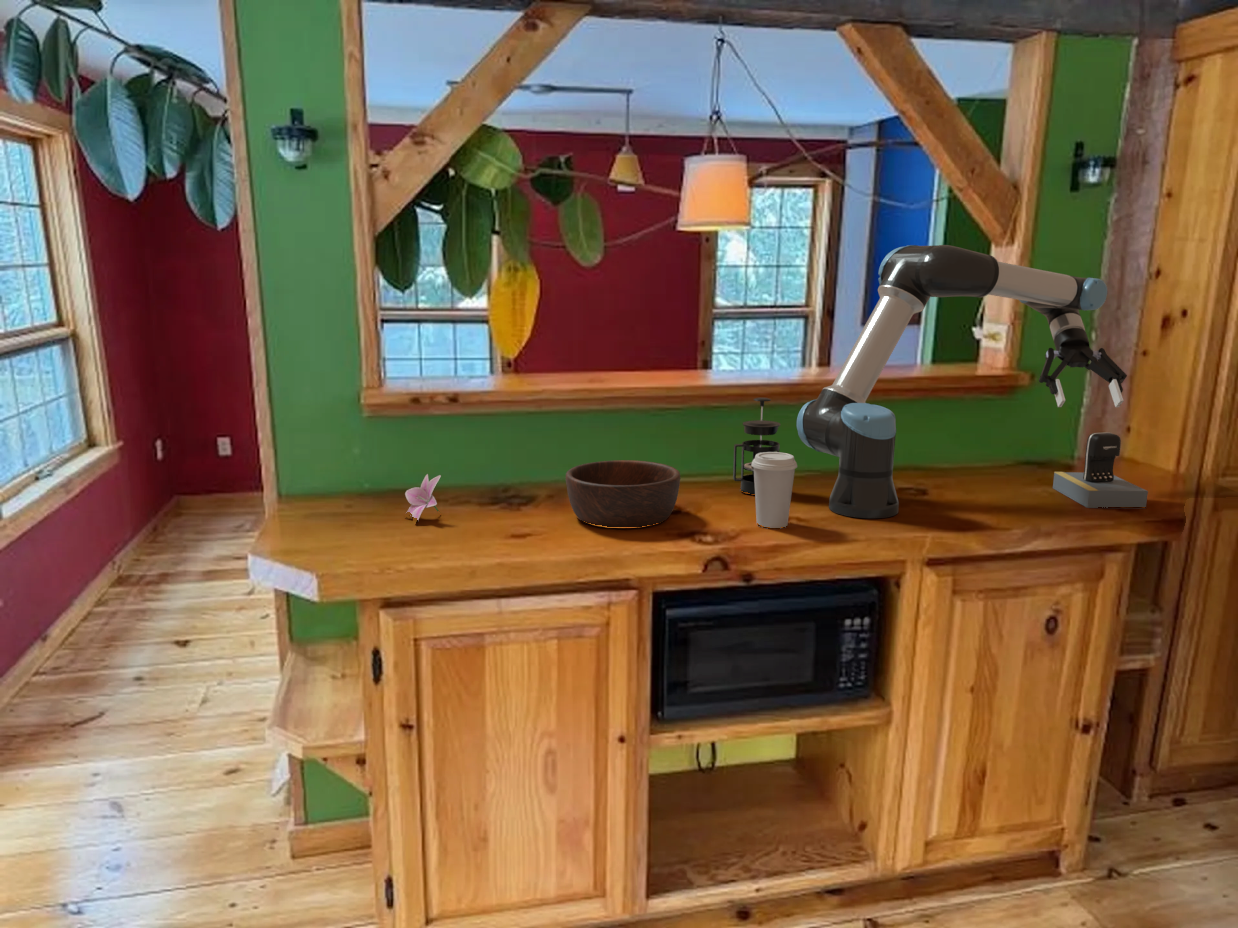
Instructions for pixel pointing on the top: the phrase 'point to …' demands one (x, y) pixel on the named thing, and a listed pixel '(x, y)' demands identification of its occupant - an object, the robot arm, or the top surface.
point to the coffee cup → (773, 487)
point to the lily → (422, 496)
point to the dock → (1099, 491)
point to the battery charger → (1101, 456)
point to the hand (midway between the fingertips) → (1090, 404)
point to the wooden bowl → (623, 492)
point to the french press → (755, 446)
